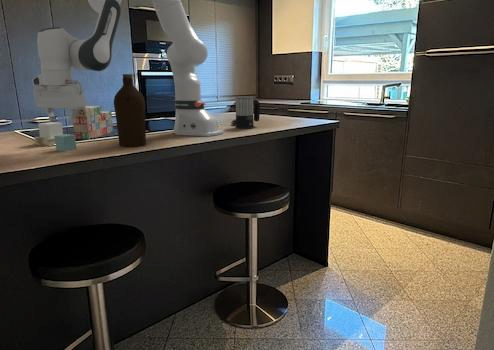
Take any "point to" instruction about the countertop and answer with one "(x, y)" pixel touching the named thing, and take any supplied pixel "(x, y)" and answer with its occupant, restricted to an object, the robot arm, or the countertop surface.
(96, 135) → the stack of blocks
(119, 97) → the olive oil
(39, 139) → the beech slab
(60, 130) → the white block
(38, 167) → the countertop surface
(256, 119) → the milk frother
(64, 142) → the teal block
